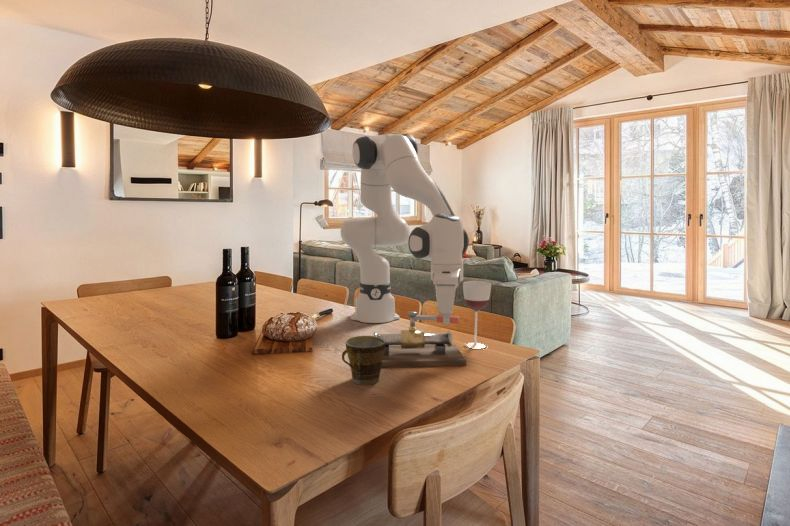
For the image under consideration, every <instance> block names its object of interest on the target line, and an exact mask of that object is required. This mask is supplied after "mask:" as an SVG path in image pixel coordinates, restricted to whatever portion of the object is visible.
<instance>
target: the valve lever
mask: <svg viewBox="0 0 790 526" xmlns="http://www.w3.org/2000/svg"><path fill="white" fill-rule="evenodd" d="M407 316H408V317H409V327H416V320H417V321H433V322H437V323H443V314H437V315H427V314H425V315H424V314H418V312H417V311H415V310H411V311H407ZM459 322H460V315H455V314H454V315H452V314H450V324H459Z"/></svg>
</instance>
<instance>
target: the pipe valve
mask: <svg viewBox="0 0 790 526" xmlns="http://www.w3.org/2000/svg"><path fill="white" fill-rule="evenodd" d="M452 334H453V333H452V331H451V330H447V331H446V332H440V333H439V332H438V333H435V332H433V333H432V332H431V333H425V330H424V329H417V327H416V326H414V327H411V326H409V327H408V329H405V330H404V329H403V330H400V333H381V334H380V333H377V331H376V332H375V331H373V336H376V337H380V338H383V339H384V340H385V341H386V344H385V351H384V356H389V346H401V349H419V348H424V347H425V345H435V352H436V354H437V355H445V345H447V346H448V347H450V346H451V345H453V337H452Z"/></svg>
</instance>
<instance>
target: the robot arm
mask: <svg viewBox="0 0 790 526" xmlns="http://www.w3.org/2000/svg"><path fill="white" fill-rule="evenodd" d="M418 151H419V148H418V143H417V141H416V139H415V138H414V136H412V135H409V134H406V133H405V134H404V133H402V134H401V133H398V134H396V133H395V134H394V133H385V134H378V135H371V136H367V135H365V136H361V137H358V138H357V139H356V140H355V141H354V142H353V144H352V158H353V161H354V164H355V165H356V166H357V168H359V169H361V170H360V203H361V204H362V206H364V208H366V209H368V210H370V211H371V212H373V213H375V214H376V215H377V216H376V217H365V216H363V217H352V218H348V219H345V220H344V221H343V222H342V224H341V228H340V237H341V240H342V242H344V244H346V246H348V247H349V248H351V250H352V251H353V252H354V254H355V255H356V257H357V259H358V264H359V270H360V271H359V272H360V282H359V285H358V287H359V294H358V296H356V297H355V300H354V306H355V308H354V310H355V311H354V313H352V315H351V316H350V320H351V321H358V322H361V323H367V324H383V323H388V322H389V323H390V322H392V321H395V320H399V319H400V315H399V314H397V312H396V306H395V305H396V303H395V302H396V300H395V297H394V296H393V295H392V293H391V292H392V286H391V285H392V283H391V281H390V280H391V279H390V277H391V276H390V275H391V274H390V273H391V272H390V271H391V269H390V268H391V267H390V263H389V261H388V260H387V259H386V258H385V257H383V256H381V255H380V254H377V252H375V251H374V248H375V247H381V248H383V247H397V246H402V245H404V244H406V243H407V242H408V243H407V244H408V249H409V250H408V251H410V254H411V255H412V256H413V257H414V258H416V259H420V260H430V280H431V281H432V282H433V285H434V287H435V296H436V306H437V312H438V315H443V325H450V324H451V323H450V315H452V314H453V311H454V305H455V298H456V289H457V288H458V287H459V284H460V283H461V282H464V259H463V256H464V254H466V252H467V250H468V248H469V245H470V244H469V243H470V239H469V236H468V233H467V231H466V229H465V228H464V227H463V222H462V219H461V218H460V217H459V216H458V215H455V213H454V212H453V209H452V207H451V206H450V204H449V202H448V200H447V198H446V196H445V194H444V193H443V191H442V189H441V188H440V186H439V185H438V184H437V183H436V182H435V181H434V179H432V178H431V177H430V176H429V174H428V173H427V172H426V171H425V169H424V167H423V166H422V164H421V161H420V158H419V156H418V153H419V152H418ZM392 190H393V192H395V193H396V194H398V195H400V196H402V197H405V198H408V199H412V200H414V201H417V202H419V203H421V204H422V205H424V206H426V207H427V208H428V210H429V211H430V212H431V214H432V217H431V219H430V221H428V222H427V223H425V224H423V225H420V226H417V227H415V228H413V229H412V231H411V232H410V227H409V225H408V222H407V221H406V220H405V219H403V217H401V216H400V215H399V214H398V213H397V211H396V210H395V208H394V205H393V201H392Z"/></svg>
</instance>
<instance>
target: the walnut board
mask: <svg viewBox="0 0 790 526" xmlns="http://www.w3.org/2000/svg"><path fill="white" fill-rule="evenodd" d="M444 345H445V355H437V354H436V352H435V345H425V347H424V348H419V349H401V345H389V356H383V359H382V365H381V368H398V367H399V368H404V367H405V368H406V367H407V368H408V367H409V368H410V367H411V368H412V367H445V366H446V367H447V366H448V367H451V366H452V367H453V366H454V367H455V366H458V367H459V366H466V365H467V359H466V357H464V355H463V354H462V353H461V351H460V349H459V348H458V346H457V345H456V344H452V345H451V346H450V347H448V346H447V344H444Z"/></svg>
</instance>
